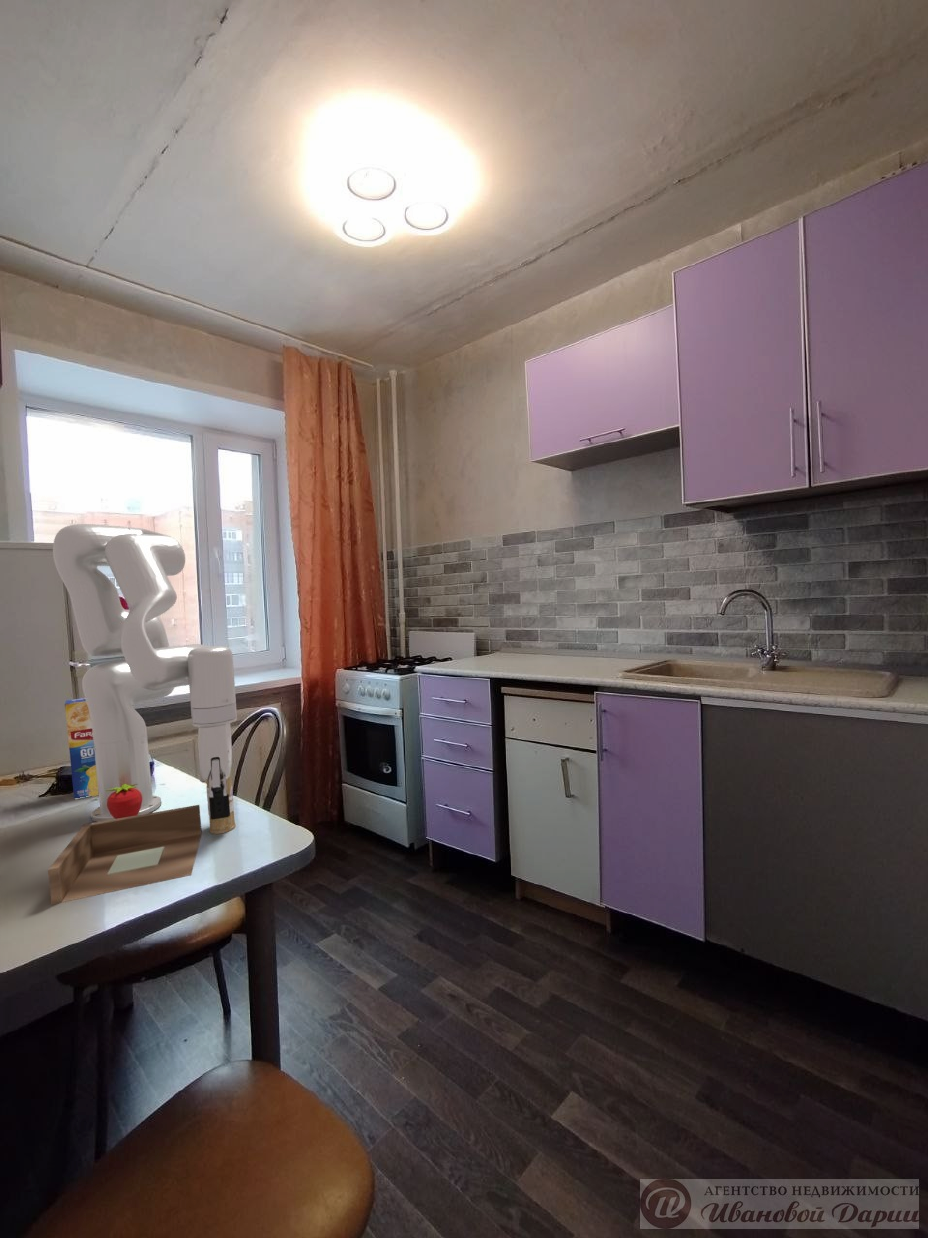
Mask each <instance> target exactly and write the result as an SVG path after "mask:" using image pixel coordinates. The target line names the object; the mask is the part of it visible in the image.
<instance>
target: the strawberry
mask: <svg viewBox="0 0 928 1238" xmlns="http://www.w3.org/2000/svg"><path fill="white" fill-rule="evenodd" d="M118 779H119V778H118ZM119 780H120V779H119ZM121 781H122V780H121ZM122 782H123V781H122ZM135 785H137V784H133V785H127V784H124V785H122V786H121V787H120V788H118V787H117V788H113V789H109V790H106V791H115V792H113V793H112V794H110V796H109V797H108V799H107V807H108V810H109V812H110V814H111V815H112V816H113V817H114V818H115V819H119V818H125V817H131V816H136V815H138V813H139V811H140V809H141V805H142V799H143V798H142V794H141V792H140V791H139V790H138V789H135V788H136V787H133V786H135Z"/></svg>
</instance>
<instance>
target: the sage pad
mask: <svg viewBox="0 0 928 1238" xmlns="http://www.w3.org/2000/svg"><path fill="white" fill-rule="evenodd" d="M163 850H164V847H160V848H154V849H149V850H144V851H139V852H134V853H128V854H123V855H118V856H117V857H116V859H115V861H114V863H113V865H112V866H111V868H110V870H109V872H108V873H107V875H110V874H115V873H120V872H125V871H130V870H135V869H140V868H145V867H150V866H155V865H158V863H159V860H160V858H161V855H162V853H163Z"/></svg>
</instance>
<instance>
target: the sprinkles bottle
mask: <svg viewBox="0 0 928 1238" xmlns="http://www.w3.org/2000/svg"><path fill="white" fill-rule="evenodd" d="M231 767H232V763H231ZM220 778H224V776H223V775H220ZM232 779H233V778H232V769H231V770H230V776H229V778H228V779H226V784H227V794H229V806H230V816H229V817H225V818H219V819H213V820H212V819H211V817H210V803H209V797H210V786H209V776H208V779H207V781H206V788H205V789H206V797H207V798H206V800H207V812H208V820H209V828H208V829H209V830H208V831H209V833H211V834H214V835H219V834H224V833H227V832H230V831H232V830H234V829H235V827H236V822H235V821H236V820H235V805H234V804H235V803H234V793H233V792H234V790H233V782H232ZM221 784H222V785H223V782H221Z"/></svg>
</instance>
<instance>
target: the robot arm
mask: <svg viewBox="0 0 928 1238" xmlns="http://www.w3.org/2000/svg"><path fill="white" fill-rule="evenodd" d="M52 556H53V563H54V565H55V568H56V570H57V572H58V575H59V577H60V579H61V581H62V582H63V584H64V587H65V588H66V590H67V592H68V594H69V598H70V601H71V605H72V610H73V611H72V612H73V615H74V619H75V623H76V626H77V632H78V635H79V639H80V642H81V646H82V648H83V650H84V651H85V652H86V653H87V654H88V655H90V656H93V657H110V656H118V655H119V656H121V655H122V656H123V657H124V659H120V660H118V659H117V660H111V661H106V662H102V663H98V664H96V665H93V666H91V667H90V668H89V669H88V670H86V672H85V673H84V675H83V677H82V681H81V685H82V693H83V695H84V698H85V699H86V702H87V705H88V709H89V713H90V717H91V723H92V731H93V741H94V751H95V761H96V772H97V783H98V793H99V795H98V800H99V801H98V802H99V803H98V804H99V807H97V808H95V809H94V810H93V811H92V812H91V813H90V814H91V816H90V817H91V819H92V821H93V822H95V823H96V822H102V821H107V820H113V819H115V818H114V817H113V816H112V815H111V814H110V812H109V810H108V807H107V799H108V797H109V796H110V794H112V793H113V792H115V791H106V790H109V789H113V788H117V787H118V788H120V787H121V786H122V785H124V784H127V785H133V784H137V785H135V786H133V787H136V788H135V789H138V790H139V791H140V792H141V794H142V798H143V799H142V805H141V809H140V811H139V813H138V815H142V814H148V813H153V811H155V810H157V809H158V808H160V806H161V805H162V798H161V797H160V796H157V795H153V786H152V777H151V766H150V765H151V764H150V763H151V762H150V754H149V743H148V732H147V725H146V722H145V720H144V719H143V716H141V715H140V713H139V712H138V711H137V710H136V709H135V708H134V707H133V706H134V705H136V704H139V703H143V702H144V703H145V702H149V701H154V700H158V699H159V700H160V699H163V698H165V697H168V696H169V695H170V694H172V692H173V691H174V690H175V688H179V687H181V686H182V687H183V686H189V698H190V700H189V701H190V713H191V714H190V715H191V726H193V727H195V728H198V733H197V735H198V737H197V743H198V762H199V764H198V765H199V766H198V767H199V782H200V783H202V784H203V783H205V781H207V779H208V776H209V786H210V797H209V803H210V817H211V819H212V820H213V819H219V818H225V817H229V816H230V806H229V794H227V784H226V779H228V778H229V776H230V770H231V771H232V766H231V764H232V760H233V759H232V758H233V755H232V754H233V749H232V728H231V727H232V726H231V724H232V723H234V722H236V721H238V715H237V714H238V713H237V711H238V710H237V699H236V686H235V684H236V683H235V682H236V681H235V671H234V657H233V652H232V650H231V648H230V647H229V646H224V645H211V646H209V645H206V644H201V643H195V644H185V645H177V646H176V645H175V646H174V645H173V646H170V644H169V639H168V636H167V635H168V634H167V632H166V628H165V625H164V623H163V621H162V620H161V617H159V616H161V615H163V614H165V613H166V612H167V611H169V610H170V609H172V607H173V606H174V605H175V604H176V602H177V597H178V596H177V592H176V590H175V588H174V587H173V585H172V583H171V581H170V579H169V577H168V576H176V575H178V574H180V573H181V572H182V571H183V569H184V568H185V564H186V555H185V551H184V548H183V546H182V545H181V542H179V541H178V540H177V539H175V538H174V537H172V536H170V535H168V534H163V533H159V532H156V531H152V530H150V529H145V528H140V527H131V526H120V525H118V526H116V525H106V524H95V523H94V524H93V523H81V524H80V523H79V524H76V523H75V524H70V525H67V526H64V527H63V528H61V529H59V530H58V532H57V533H56V534H55V536H54V540H53V545H52ZM103 566H106V567H109V569H110V570H111V572H112V575H113V577H114V579H115V581H116V583H117V585H118V587H119V589H120V592H121V593H122V596H123V598H124V600H125V602H126V604H127V606H128V609H125V608H124V607H123V605H122V603H121V599H120V595H119V591H118V588H117V586H116V585H115V584H114V583H113V582H112V580H111V579H110V577H108V576H107V575H106V574H105V573H103V572H102V570H100V569H99V568H98V567H103ZM220 775H223V776H224V778H220ZM118 778H119V779H120V780H119V779H118ZM121 780H122V781H123V782H122V781H121ZM221 782H223V785H222V784H221Z"/></svg>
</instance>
